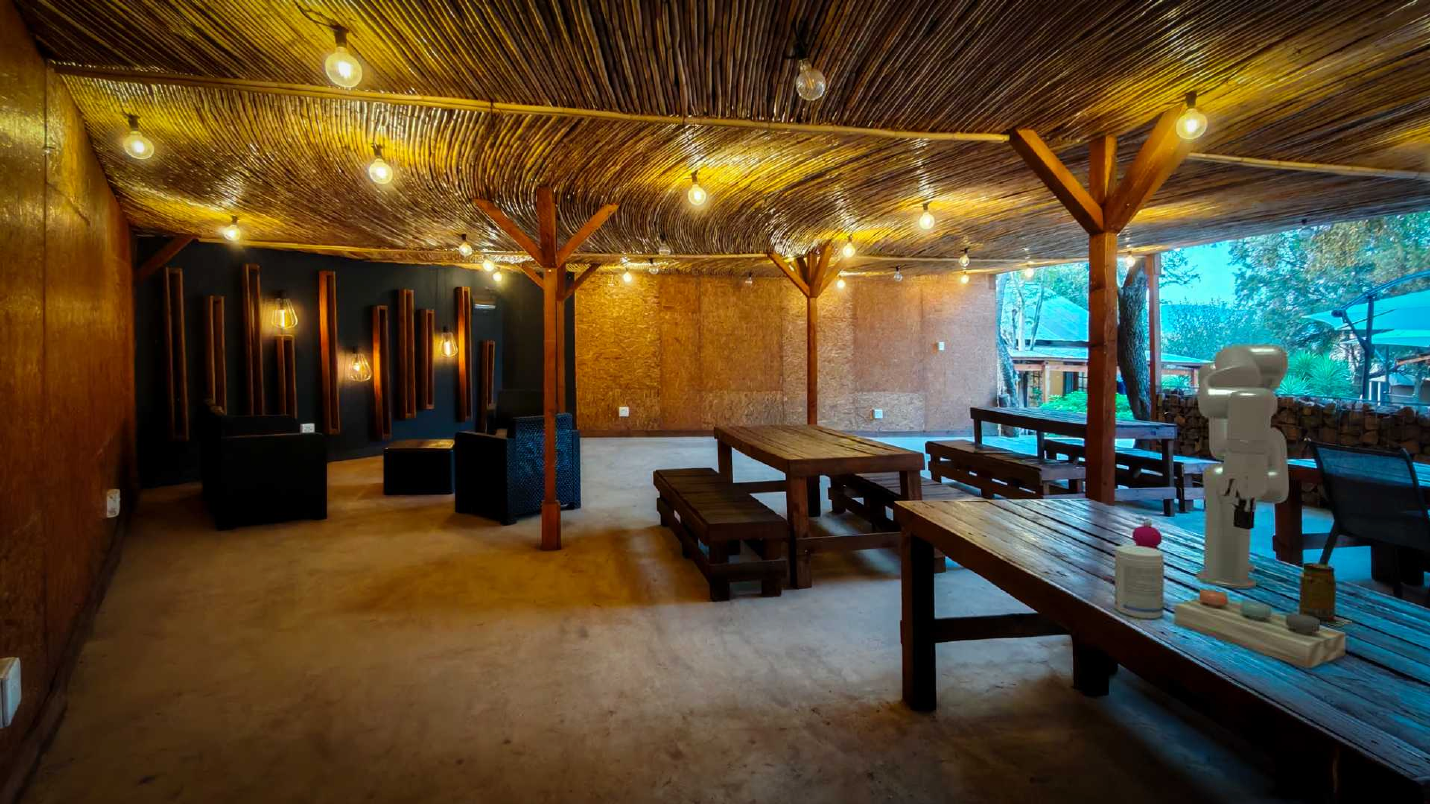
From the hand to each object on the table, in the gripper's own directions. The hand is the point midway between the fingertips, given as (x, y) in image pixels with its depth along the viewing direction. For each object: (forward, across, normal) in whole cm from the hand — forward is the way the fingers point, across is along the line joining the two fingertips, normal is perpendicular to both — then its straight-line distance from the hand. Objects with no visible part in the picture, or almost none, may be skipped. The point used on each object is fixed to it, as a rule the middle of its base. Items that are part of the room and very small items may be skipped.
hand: (1243, 527), depth 147 cm
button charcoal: (+18, +10, +15) cm, 26 cm away
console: (+21, +10, +8) cm, 24 cm away
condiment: (+22, -17, +8) cm, 29 cm away
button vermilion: (+19, +9, -1) cm, 21 cm away
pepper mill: (+22, +8, -16) cm, 28 cm away
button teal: (+19, +10, +8) cm, 22 cm away
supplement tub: (+21, +16, -12) cm, 30 cm away
